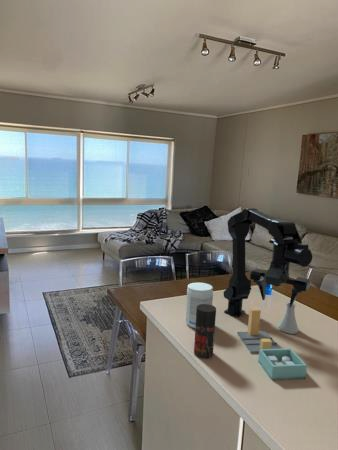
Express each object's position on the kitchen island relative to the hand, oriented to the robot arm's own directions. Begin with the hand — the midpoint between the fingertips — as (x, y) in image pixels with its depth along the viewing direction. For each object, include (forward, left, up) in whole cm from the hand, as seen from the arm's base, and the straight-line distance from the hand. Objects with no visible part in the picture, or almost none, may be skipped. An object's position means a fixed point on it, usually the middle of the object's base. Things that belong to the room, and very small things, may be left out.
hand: (276, 303), depth 112 cm
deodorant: (+24, -14, -13) cm, 31 cm away
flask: (-11, +2, -13) cm, 17 cm away
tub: (+17, +8, -13) cm, 23 cm away
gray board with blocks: (+6, -3, -13) cm, 15 cm away
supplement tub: (+7, -26, -13) cm, 30 cm away
